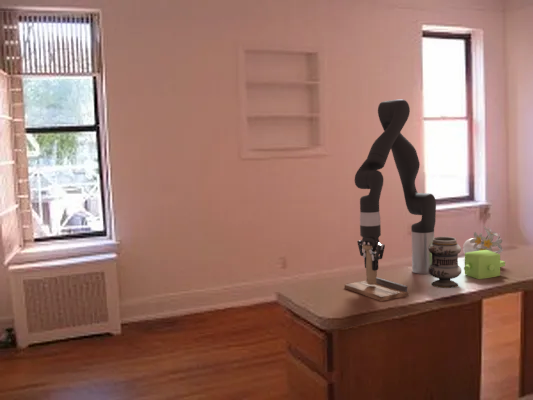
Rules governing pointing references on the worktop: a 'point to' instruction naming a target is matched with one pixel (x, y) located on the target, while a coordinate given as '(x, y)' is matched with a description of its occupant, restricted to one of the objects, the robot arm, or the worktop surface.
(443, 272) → the apothecary jar
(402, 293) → the board
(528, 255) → the worktop surface
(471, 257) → the gearbox
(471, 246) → the flower vase
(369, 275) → the handle
